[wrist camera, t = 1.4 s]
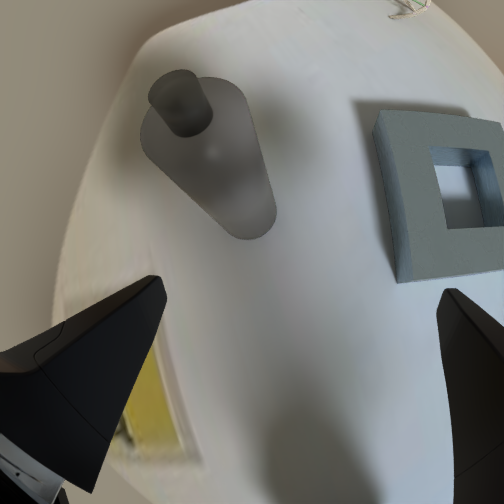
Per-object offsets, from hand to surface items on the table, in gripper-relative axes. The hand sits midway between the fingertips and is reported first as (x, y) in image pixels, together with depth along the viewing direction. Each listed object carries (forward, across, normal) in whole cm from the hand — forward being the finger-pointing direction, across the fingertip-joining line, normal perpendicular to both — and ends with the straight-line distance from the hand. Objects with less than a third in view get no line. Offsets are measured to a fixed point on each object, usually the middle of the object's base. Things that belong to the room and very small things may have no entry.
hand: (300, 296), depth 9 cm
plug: (+14, +5, +3) cm, 15 cm away
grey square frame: (+16, -12, +2) cm, 21 cm away
